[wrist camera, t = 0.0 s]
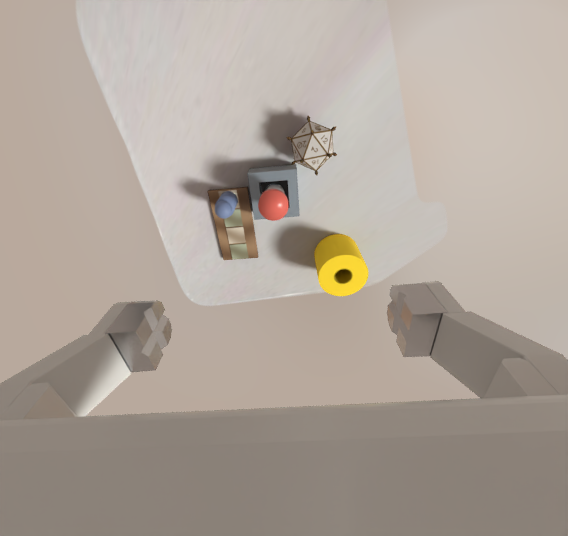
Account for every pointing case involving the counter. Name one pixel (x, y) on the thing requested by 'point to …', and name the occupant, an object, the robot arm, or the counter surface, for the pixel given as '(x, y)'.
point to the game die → (312, 145)
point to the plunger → (273, 202)
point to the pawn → (226, 204)
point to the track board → (235, 226)
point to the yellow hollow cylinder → (340, 265)
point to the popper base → (274, 175)
